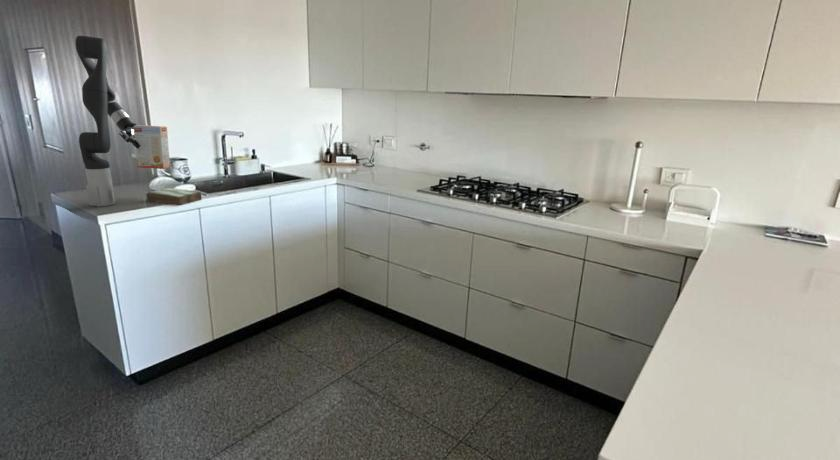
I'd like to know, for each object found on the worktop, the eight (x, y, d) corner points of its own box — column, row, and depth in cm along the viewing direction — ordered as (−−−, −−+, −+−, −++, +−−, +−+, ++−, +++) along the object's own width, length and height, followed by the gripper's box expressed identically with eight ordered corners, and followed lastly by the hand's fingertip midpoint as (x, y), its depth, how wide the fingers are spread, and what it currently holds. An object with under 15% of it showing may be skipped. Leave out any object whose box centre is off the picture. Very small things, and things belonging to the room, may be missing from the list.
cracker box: (170, 168, 232) (167, 126, 227) (163, 169, 226) (159, 126, 221) (145, 166, 234) (141, 124, 229) (136, 167, 228) (132, 124, 223)
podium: (179, 205, 219) (178, 196, 218) (147, 200, 224) (146, 192, 223) (201, 199, 232) (200, 191, 230) (170, 195, 237) (169, 187, 236)
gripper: (113, 116, 220) (135, 142, 220) (139, 116, 233) (160, 141, 233) (107, 126, 223) (128, 153, 223) (132, 126, 236) (153, 150, 236)
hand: (144, 146), depth 228 cm, fingers closed on cracker box, 6 cm apart
